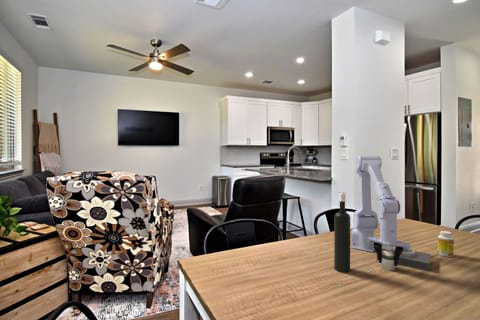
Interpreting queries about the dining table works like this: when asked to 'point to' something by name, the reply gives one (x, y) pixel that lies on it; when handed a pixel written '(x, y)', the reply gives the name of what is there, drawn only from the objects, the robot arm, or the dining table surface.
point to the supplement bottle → (445, 244)
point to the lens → (388, 259)
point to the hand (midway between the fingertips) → (388, 263)
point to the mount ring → (410, 254)
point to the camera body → (414, 260)
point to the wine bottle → (342, 238)
